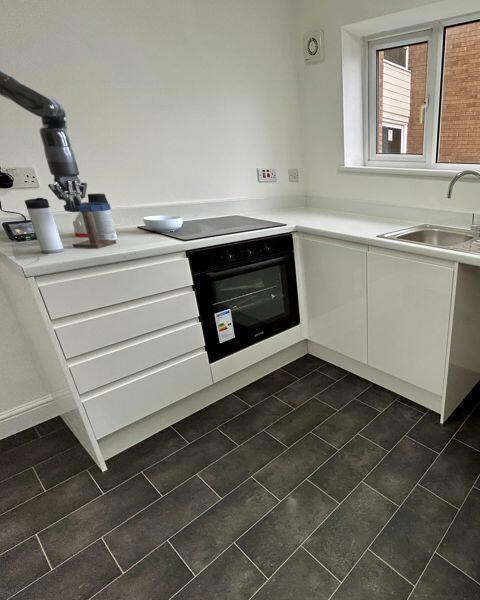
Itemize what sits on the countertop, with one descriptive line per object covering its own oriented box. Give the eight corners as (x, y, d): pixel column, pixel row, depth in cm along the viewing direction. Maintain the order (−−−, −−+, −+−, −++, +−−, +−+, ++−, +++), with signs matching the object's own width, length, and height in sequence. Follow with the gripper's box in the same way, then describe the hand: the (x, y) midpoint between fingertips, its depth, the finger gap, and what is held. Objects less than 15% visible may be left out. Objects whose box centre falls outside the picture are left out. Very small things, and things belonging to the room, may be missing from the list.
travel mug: (67, 249, 141) (51, 197, 133) (59, 252, 135) (41, 199, 128) (47, 249, 139) (29, 197, 131) (38, 253, 133) (19, 199, 126)
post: (98, 248, 143) (87, 209, 138) (73, 247, 143) (61, 209, 137) (116, 243, 153) (106, 206, 147) (93, 242, 152) (82, 206, 147)
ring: (92, 212, 127) (90, 207, 126) (55, 211, 127) (53, 205, 126) (118, 208, 139) (117, 203, 138) (85, 207, 139) (84, 202, 138)
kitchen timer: (85, 238, 159) (75, 204, 154) (69, 234, 165) (59, 202, 159) (119, 233, 171) (110, 202, 166) (103, 230, 177) (94, 200, 171)
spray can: (117, 237, 162) (105, 193, 155) (117, 240, 158) (105, 194, 150) (99, 239, 159) (86, 193, 151) (98, 242, 154) (85, 194, 146)
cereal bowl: (178, 234, 175) (176, 219, 173) (140, 234, 171) (137, 220, 168) (188, 228, 190) (186, 214, 188) (153, 228, 186) (150, 215, 183)
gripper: (68, 160, 128) (81, 208, 134) (31, 159, 115) (48, 213, 121) (89, 161, 128) (101, 209, 134) (54, 160, 115) (70, 214, 121)
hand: (76, 211), depth 128 cm, fingers closed on ring, 2 cm apart
